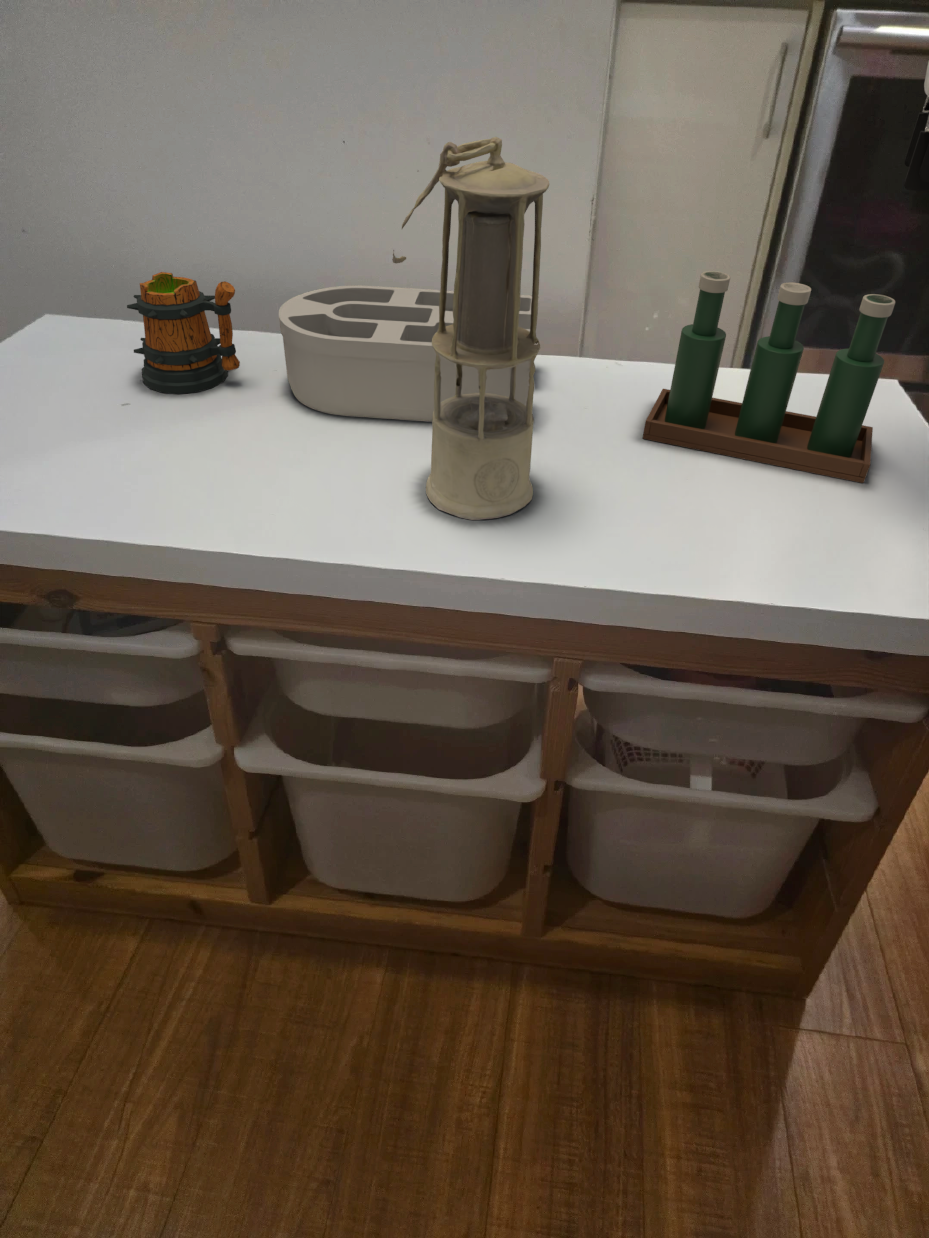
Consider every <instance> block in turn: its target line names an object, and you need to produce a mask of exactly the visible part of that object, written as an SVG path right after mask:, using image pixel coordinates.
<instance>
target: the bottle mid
mask: <svg viewBox="0 0 929 1238" xmlns="http://www.w3.org/2000/svg"><path fill="white" fill-rule="evenodd" d="M811 291H812V288H811V287H810V286H808V285H806V284H804V283H799V282H783V283H781V284H780V286H779V289H778V295H777V300H778V301H777V307H776V310H775V314H774V318H773V322H772V326H771V329H770V330H771V331H770V333H769V335H767V336H763V337H760V338H759V339H758V340H757V341H756V342H757V343H756V346H755V350H754V355H753V359H752V363H751V367H750V370H749V374H748V379H747V383H746V388H745V390H744V395H743V397H742V398H743V399H742V401H741V403H742V406H741V410H740V414H739V418H738V422H737V426H736V430H735V436H739V437H744V438H749V439H754V440H760V441H765V442H770V443H776V442H777V441H778V437H779V434H780V430H781V427H782V423H783V420H784V416H785V413H786V411H787V409H788V406H789V402H790V398H791V395H792V391H793V387H794V384H795V381H796V378H797V374H798V370H799V367H800V364H801V360H802V356H803V352H804V349H805V348H804V345H803V344H802V343H801V342H799V341H798V340H796V338H797V335H798V332H799V327H800V324H801V320H802V316H803V314H804V309H805V306H806V305H807V304H808V303H809V299H810V296H811V293H812V292H811Z"/></svg>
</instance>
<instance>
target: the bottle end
mask: <svg viewBox="0 0 929 1238" xmlns="http://www.w3.org/2000/svg"><path fill="white" fill-rule="evenodd" d="M730 281H731V276H730V275H729V274H728V273H725V272H722V271H718V270H717V271H716V270H715V271H714V270H707V271H703V272H701V273H700V276H699V282H698V286H697V287H698V289H699V292H698V297H697V303H696V308H695V312H694V318H693V322H692V324H688V325H687V324H686V325H685V326H683V327H682V328H681V331H680V336H679V342H678V347H677V353H676V358H675V364H674V368H673V374H672V379H671V383H670V389H669V390H670V394H669V399H668V405H667V410H666V415H665V422H667V423H672V424H677V425H683V426H688V427H693V428H698V429H704V428H705V427H706V423H707V419H708V414H709V410H710V405H711V401H712V398H713V395H714V391H715V386H716V383H717V379H718V374H719V369H720V365H721V361H722V356H723V352H724V347H725V342H726V339H727V338H726V337H727V333H726V331H725V330H724V329H722V328H720V327H719V322H720V318H721V312H722V309H723V304H724V299H725V294H726V292H728V291H729V290H728V289H729V285H730Z"/></svg>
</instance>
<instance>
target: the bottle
mask: <svg viewBox="0 0 929 1238" xmlns="http://www.w3.org/2000/svg"><path fill="white" fill-rule="evenodd" d="M895 305H896V300H895V299H894V298H892V297H890V296H887V295H884V294H875V293H871V294H865V295H864V296H863V297H862V300H861V302H860V306H859V309H858V310H859V313H860V314H859V316H858V319H857V323H856V326H855V329H854V332H853V335H852V337H851V342H850V345H849V346H848V347H849V348H842V349H839V350H837V352H836V353H835V356H834V358H833V362H832V365H831V368H830V371H829V375H828V379H827V381H826V385H825V388H824V391H823V394H822V397H821V401H820V403H819V406H818V410H817V413H816V416H815V417H816V419H815V423H814V426H813V429H812V432H811V435H810V439H809V442H808V445H807V448H808V450H811V451H816V452H821V453H826V454H831V455H837V456H842V457H847V458H850V457H851V455H852V453H853V450H854V447H855V444H856V441H857V438H858V436H859V433H860V430H861V427H862V425H864V421H865V419H866V416H867V413H868V410H869V407H870V404H871V401H872V398H873V396H874V393H875V390H876V387H877V384H878V381H879V379H880V375H881V373H882V371H883V367H884V365H885V359H884V357H882V356H881V355H879V354H878V353H877V351H878V348H879V345H880V341H881V339H882V335H883V334H884V330H885V327H886V324H887V321H888V318H889V317H891V316H892V314H893V311H894V308H895Z"/></svg>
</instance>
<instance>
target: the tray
mask: <svg viewBox="0 0 929 1238" xmlns="http://www.w3.org/2000/svg"><path fill="white" fill-rule="evenodd" d="M669 394H670V389H667V388H662V389H661V391H660V393H659V395H658V397H657V398H656V400H655V402H654V404H653V406H652V408H651V410H650V412H649V414H648V415H647V417H646V419H645V422H644V428H643V434H642V439H643V440H646V441H647V440H648V441H652V442H657V443H662V444H667V445H672V446H677V447H681V448H688V449H691V450H697V451H703V452H706V453H712V454H717V455H721V456H727V457H732V458H736V459H742V460H745V461H752V462H757V463H762V464H766V465H770V466H776V467H782V468H785V469H790V470H791V469H792V470H796V471H801V472H806V473H812V474H816V475H821V476H825V477H830V478H835V479H840V480H846V481H851V482H855V483H860V484H864V483H865V480H866V478H867V476H868V472H869V469H870V467H871V461H872V460H871V459H872V445H873V444H872V443H873V432H874V431H873V430H874V427H873V426H868V425H865V424H862V427H861V430H860V433H859V436H858V438H857V441H856V444H855V447H854V450H853V453H852V455H851V457H850V458H847V457H842V456H837V455H831V454H826V453H821V452H816V451H811V450H808V448H807V445H808V442H809V439H810V435H811V432H812V429H813V426H814V423H815V419H816V416H815V415H809V414H802V413H798V412H793V411H787V410H786V413H785V416H784V420H783V423H782V427H781V430H780V434H779V437H778V441H777V442H776V443H770V442H765V441H760V440H754V439H749V438H744V437H739V436H735V430H736V426H737V422H738V418H739V414H740V410H741V406H742V402H739V401H734V400H728V399H722V398H718V397H712V401H711V405H710V410H709V414H708V419H707V423H706V427H705V428H704V429H698V428H693V427H688V426H683V425H677V424H672V423H667V422H665V415H666V410H667V405H668V399H669Z"/></svg>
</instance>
